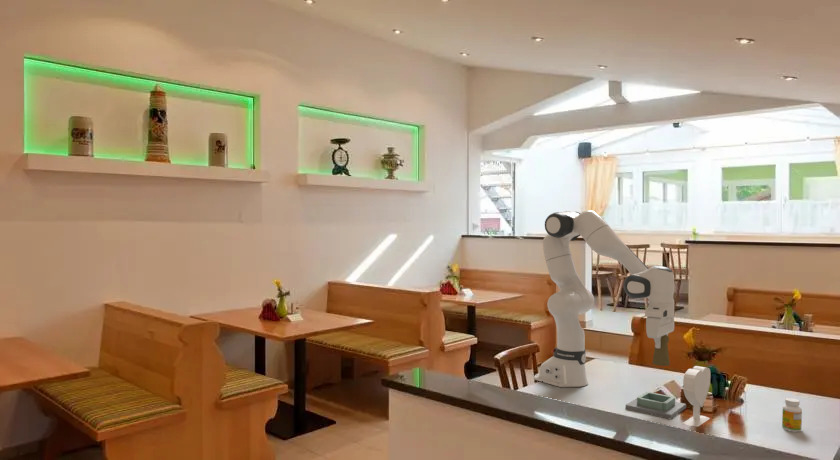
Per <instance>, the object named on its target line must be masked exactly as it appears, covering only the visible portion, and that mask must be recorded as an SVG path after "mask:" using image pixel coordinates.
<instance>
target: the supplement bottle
mask: <svg viewBox="0 0 840 460" xmlns="http://www.w3.org/2000/svg"><path fill="white" fill-rule="evenodd" d="M784 403H785V404H783V406H782V415H781V416H782V417H781V418H782V419H781V421H782V423H781V426H782V427H781V428H782V429H784V430H785V429H786V431H788V430H790V431H789V432H793V431H799V432H801V431H802V423H803V422H802V419H803V410H802V407H800V400H799V399H797V398H792V397H788V398H787V397H786V398H785V399H784Z"/></svg>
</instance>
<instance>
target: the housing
mask: <svg viewBox="0 0 840 460" xmlns="http://www.w3.org/2000/svg"><path fill="white" fill-rule="evenodd" d="M686 409H687V404H686V403H684V402H680V401H676V397H674V396H671V395H665V394H661V393H656V392H649V391H645V392H644V393H642V394H641V395H638V396H637V397H636V398H635V399H633V400H631V401H630V402H628V403H626V404H625V410H629V411H633V412H638V413H642V414H647V415H651V416H655V417H659V418H664V419H668V420H672V419H674V418H675V417H676V416H677V415H679V414H680V413H682V412H683V411H684V410H686Z"/></svg>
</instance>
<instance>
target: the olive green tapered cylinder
mask: <svg viewBox="0 0 840 460" xmlns="http://www.w3.org/2000/svg"><path fill="white" fill-rule="evenodd" d="M660 341H661V348H655V347H654V352H653V358H652V364H653V365H654V366H659V367H660V366H661V367H665V366H670V365H671V363H670V362H671V361H670V355H669V348H668V344H669V341H670V338H669V335H668V336H667V335H664V336H662V337H661V339H660Z"/></svg>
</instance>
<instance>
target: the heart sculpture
mask: <svg viewBox="0 0 840 460" xmlns="http://www.w3.org/2000/svg"><path fill="white" fill-rule="evenodd" d="M711 378H712V377H711V369H710V368H709V367H705V366H699V365H694V366H693V367H692V368H688V369H687V370H686V371H685V373H684V374H683V379H682V380H683V381H682V383H683V385H682V386H683V394H684V397H685V398H686V400H687V401H688V403H690V405H691V406H692V407H693V409H692V416H690V418H688V419H687V420H685V421H683V422H682V424H684V425H687V426H690V427H697V428H699V427H700V426H701V425H702V424H704V423H705V422H707V421H709V420H710V419H711V418H710V417H708V416H706V415H701V408H703V406H704V403H705V402H706V399H707V397H708V393H709V390H710V386H711Z"/></svg>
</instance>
